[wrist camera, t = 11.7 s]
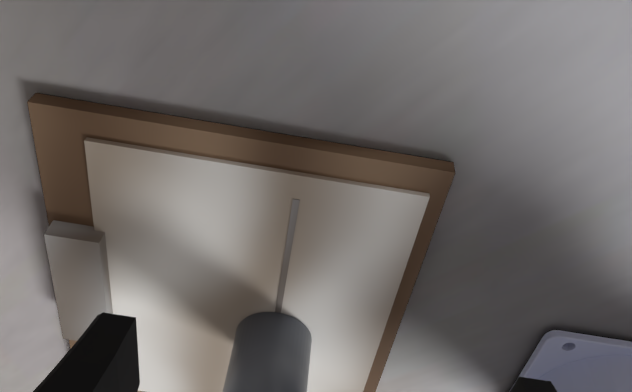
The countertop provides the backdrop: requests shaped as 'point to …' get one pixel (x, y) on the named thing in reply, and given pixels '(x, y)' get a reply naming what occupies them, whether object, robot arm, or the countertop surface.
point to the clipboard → (230, 238)
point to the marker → (269, 355)
